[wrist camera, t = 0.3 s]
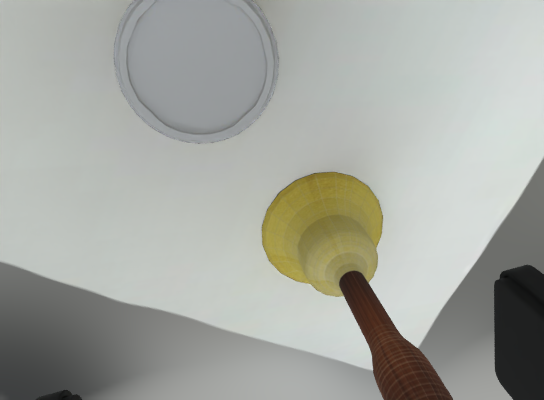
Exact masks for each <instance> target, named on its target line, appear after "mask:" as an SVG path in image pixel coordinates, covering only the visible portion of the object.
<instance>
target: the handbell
mask: <svg viewBox="0 0 544 400" xmlns="http://www.w3.org/2000/svg"><path fill="white" fill-rule="evenodd" d="M382 222H383V215H382V212H381V208H380V204H379V201H378V199H377V198H376V196H375V195H374V194H373V192H372V191H371V190H370V188H369V187H368V186H367V185H365V184H364V183H362V182H361V181H359V180H358V179H356V178H355V177H353V176H349V175H345V174H341V173H337V172H327V173H314V174H312V175H309V176H306V177H304V178H301V179H299V180H296V181H294V182H293V183H292V184H290V185H289V186H288V187H287V188H285V189H284V190H283V191H281V192H280V193H279V194H278V195H277V197H276V198H275V200H274V201H273V202H272V204H271V205H270V207H269V208H268V209H267V213H266V216H265V219H264V222H263V225H262V243H263V247H264V250H265V252H266V254H267V257H268V259H269V261H270V262H271V263H272V264H273V265H274V266H275V267H276V269H277V270H278V271H279V272H280V273H282V274H284V275H286V276H287V277H289V278H291V279H293V280H295V281H298V282H303V283H309V284H311V285H312V286H313V287H314V288H315V289H316V290H318V291H319V292H321V293H323V294H325V295H330V296H335V297H339V296H344V297H345V299H346V301H347V303H348V305H349V307H350V309H351V311H352V313H353V315H354V317H355V319H356V321H357V323H358V325H359V327H360V329H361V331H362V333H363V335H364V337H365V339H366V341H367V343H368V345H369V348H370V350H371V353H372V363H373V373H374V376H375V380H376V383H377V385H378V387H379V390H380V392H381V394H382V397H383V399H384V400H453V398H452V397H451V395H450V393H449V391H448V390H447V389H446V387H445V386H444V384H443V382H442V381H441V379H440V377H439V376H438V374H437V373H436V371H435V370H434V368H433V367H432V365H431V364H430V362H429V361H428V359H427V358H426V357H425V356H424V354H422V352H421V351H420V350H419V349H418V348H416V347H415V346H414V345H413V344H411V343H410V342H409V341H407V340H406V339H405V338H403V337H402V335H401V334H400V333H399V331H398V330H397V329H396V327H395V325H394V324H393V322H392V321H391V319H390V317H389V316H388V314H387V312H386V311H385V309H384V308H383V306H382V304H381V303H380V301H379V300H378V298H377V296H376V295H375V293H374V291H373V290H372V288H371V287H370V285H369V281H370V280H371V279H372V278H373V276H374V273H375V271H376V269H377V263H378V254H377V251H376V247H377V245H378V242H379V240H380V238H381V234H382Z"/></svg>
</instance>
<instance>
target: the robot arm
mask: <svg viewBox="0 0 544 400" xmlns="http://www.w3.org/2000/svg"><path fill="white" fill-rule="evenodd" d="M494 310H495V311H494V312H495V313H494V315H495V316H494V320H495V321H494V322H495V372H496V375H497V378H498V380H499V382H500V383H501V385H502V386H503V387H504V389H505V390H506V391H507V392H508V394H509V395H510V396H511V397H512V399H513V400H544V274H542V273H541V272H540V271H538V270H537V269H536V268H534V267H532V266H530V265H524V266H521V267H517V268H513V269H510V270H506V271H503V272H502V273H501V274H500V279H499V280H496V281H495V284H494ZM36 400H82V399H81V397H80V396H79V395H77V394H76V395H72V394H71V392H70V391H68V390H63V391H60V392H56V393H53V394H48V395H45V396H41V397H39V398H37V399H36Z"/></svg>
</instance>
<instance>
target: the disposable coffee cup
mask: <svg viewBox="0 0 544 400" xmlns="http://www.w3.org/2000/svg"><path fill="white" fill-rule="evenodd" d="M114 64H115V70H116V76H117V79H118V82H119V85H120V88H121V91H122V93H123V94H124V96H125V98H126V100H127V101H128V103H129V105H130V106H131V107H132V109H133V110H134V111H135V112H136V114H137V115H138V116H139V117H140V118H141V119H142V120H143V121H144V122H145V123H147V124H148V125H149V126H150V127H152V128H153V129H155V130H156V131H158V132H160V133H162V134H164V135H166V136H167V137H170V138H173V139H176V140H179V141H183V142H188V143H198V144H200V143H213V142H217V141H222V140H225V139H228V138H230V137H232V136H234V135H237V134H239V133H240V132H242V131H243V130H245V129H246V128H248V127H249V126H250V125H251V124H252V123H253V122H255V121H256V120H257V119H258V118H259V116H260V115H261V114H262V112H263V111H264V110H265V108H266V107H267V105H268V103H269V101H270V99H271V97H272V95H273V93H274V89H275V85H276V81H277V77H278V66H279V56H278V49H277V42H276V39H275V36H274V34H273V31H272V28H271V25H270V23H269V22H268V20H267V18H266V17H265V15H264V13H263V12H262V10H261V8H260V7H259V6H258V5H257V4H256V3H255V2H254V1H253V0H134V1H133V2H132V3H131V4H130V6H129V7H128V8H127V10H126V12H125V13H124V15H123V17H122V19H121V21H120V23H119V26H118V30H117V34H116V38H115V43H114Z"/></svg>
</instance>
